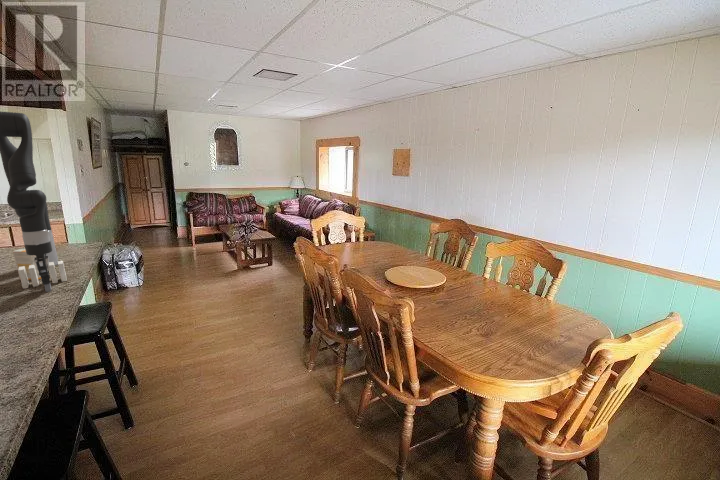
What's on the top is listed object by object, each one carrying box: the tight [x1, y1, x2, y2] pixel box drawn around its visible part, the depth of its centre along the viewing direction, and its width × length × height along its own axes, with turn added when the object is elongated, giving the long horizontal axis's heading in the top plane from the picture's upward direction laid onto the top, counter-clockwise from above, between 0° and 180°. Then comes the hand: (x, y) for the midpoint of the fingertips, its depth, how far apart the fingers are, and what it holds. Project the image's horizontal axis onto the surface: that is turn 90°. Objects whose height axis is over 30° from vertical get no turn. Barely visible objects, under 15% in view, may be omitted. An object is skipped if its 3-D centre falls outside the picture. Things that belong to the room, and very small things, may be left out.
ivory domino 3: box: [49, 262, 59, 284], centre depth 144 cm, size 5×2×8 cm, turn 42°
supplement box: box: [12, 247, 42, 281], centre depth 146 cm, size 8×5×13 cm, turn 84°
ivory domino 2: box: [29, 265, 40, 288], centre depth 140 cm, size 5×2×8 cm, turn 42°
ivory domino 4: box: [57, 260, 68, 283], centre depth 146 cm, size 5×2×8 cm, turn 42°
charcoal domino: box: [42, 270, 52, 293], centre depth 135 cm, size 5×2×8 cm, turn 42°
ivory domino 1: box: [17, 266, 30, 289], centre depth 138 cm, size 5×2×8 cm, turn 42°
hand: (46, 281), depth 135 cm, fingers open, 6 cm apart
